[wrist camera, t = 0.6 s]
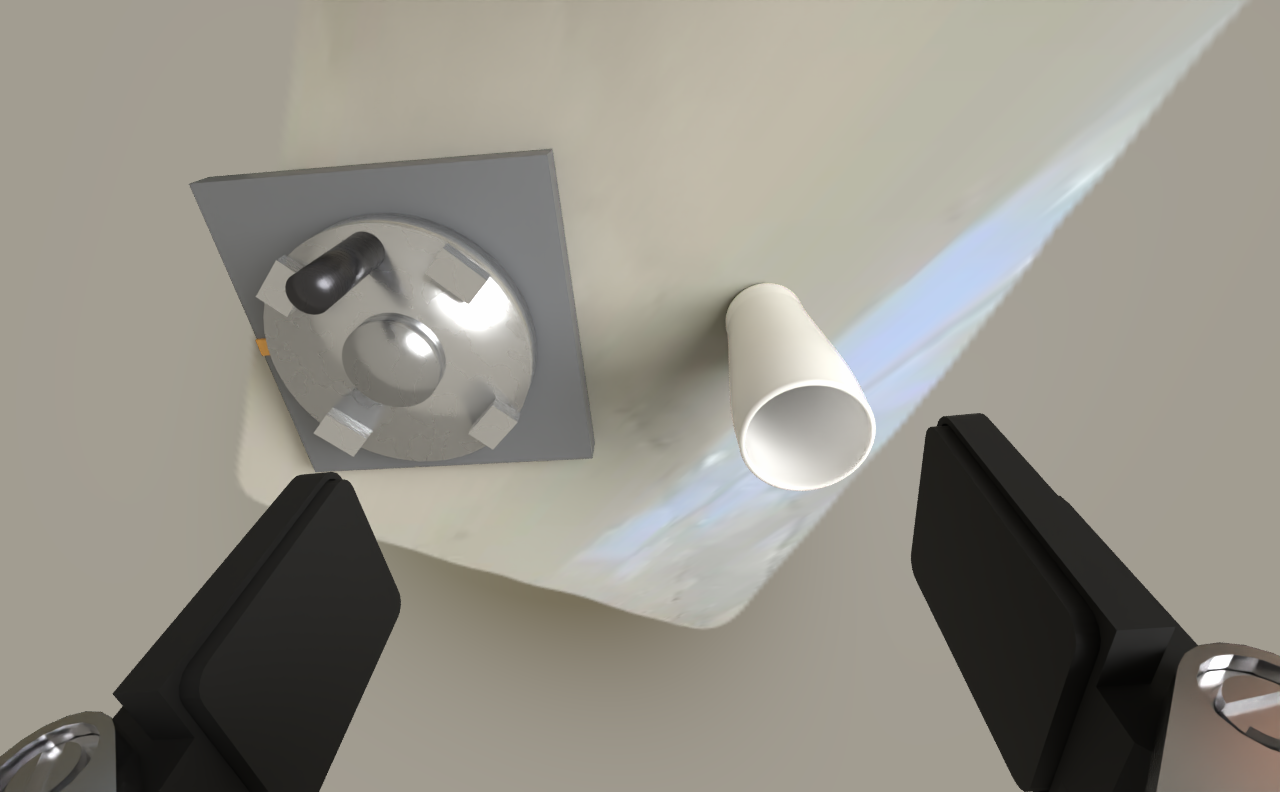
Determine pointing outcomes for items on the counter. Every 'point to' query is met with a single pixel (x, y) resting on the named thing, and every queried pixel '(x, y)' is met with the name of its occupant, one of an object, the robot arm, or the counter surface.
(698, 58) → the counter surface
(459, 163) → the gray square base plate
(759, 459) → the drinking glass
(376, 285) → the round metal lid
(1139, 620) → the robot arm
